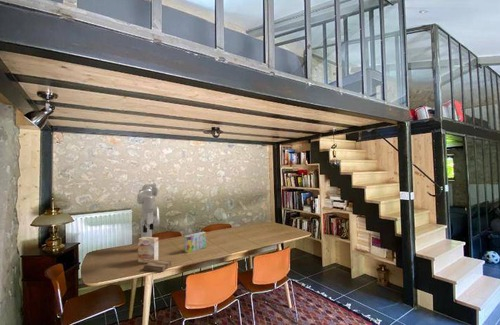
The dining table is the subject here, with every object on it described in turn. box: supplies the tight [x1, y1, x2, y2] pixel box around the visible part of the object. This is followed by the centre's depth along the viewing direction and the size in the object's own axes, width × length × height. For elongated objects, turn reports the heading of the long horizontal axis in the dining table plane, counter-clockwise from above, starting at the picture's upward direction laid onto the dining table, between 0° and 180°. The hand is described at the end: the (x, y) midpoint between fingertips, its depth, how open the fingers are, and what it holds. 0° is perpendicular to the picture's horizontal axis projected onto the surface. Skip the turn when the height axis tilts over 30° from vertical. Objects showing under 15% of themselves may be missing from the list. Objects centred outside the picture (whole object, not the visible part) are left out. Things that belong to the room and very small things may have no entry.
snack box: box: [183, 231, 207, 254], centre depth 230 cm, size 21×6×15 cm, turn 135°
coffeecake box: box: [137, 236, 159, 264], centre depth 203 cm, size 15×7×20 cm, turn 81°
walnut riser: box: [143, 259, 172, 273], centre depth 189 cm, size 12×16×4 cm
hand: (148, 230), depth 202 cm, fingers open, 9 cm apart
